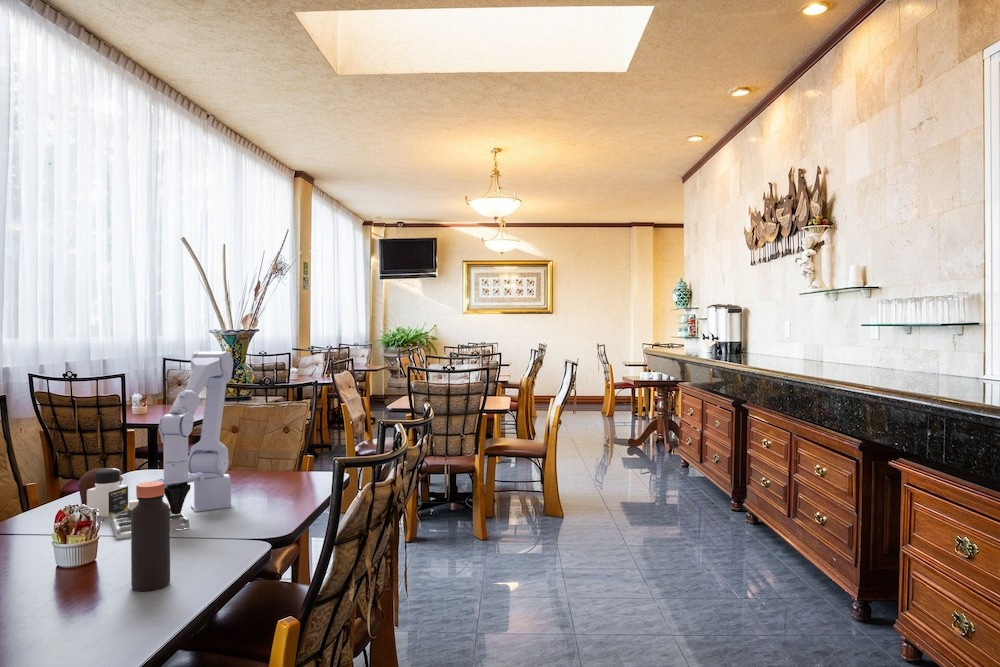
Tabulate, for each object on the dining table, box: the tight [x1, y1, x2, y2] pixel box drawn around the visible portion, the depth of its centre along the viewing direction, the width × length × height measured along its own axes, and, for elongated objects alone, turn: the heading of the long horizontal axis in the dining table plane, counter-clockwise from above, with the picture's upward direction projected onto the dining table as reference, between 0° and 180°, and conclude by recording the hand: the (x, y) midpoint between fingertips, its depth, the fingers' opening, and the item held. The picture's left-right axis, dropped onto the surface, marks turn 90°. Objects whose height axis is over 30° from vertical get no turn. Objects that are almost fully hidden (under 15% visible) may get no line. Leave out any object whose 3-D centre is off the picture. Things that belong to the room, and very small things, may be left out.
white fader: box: [126, 499, 138, 518], centre depth 176 cm, size 3×3×4 cm
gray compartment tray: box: [110, 507, 190, 540], centre depth 175 cm, size 16×18×2 cm
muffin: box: [76, 467, 124, 505], centre depth 196 cm, size 12×11×10 cm
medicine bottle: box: [87, 467, 129, 518], centre depth 186 cm, size 7×7×12 cm
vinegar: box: [130, 480, 171, 592], centre depth 134 cm, size 7×7×20 cm
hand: (176, 513), depth 174 cm, fingers closed
